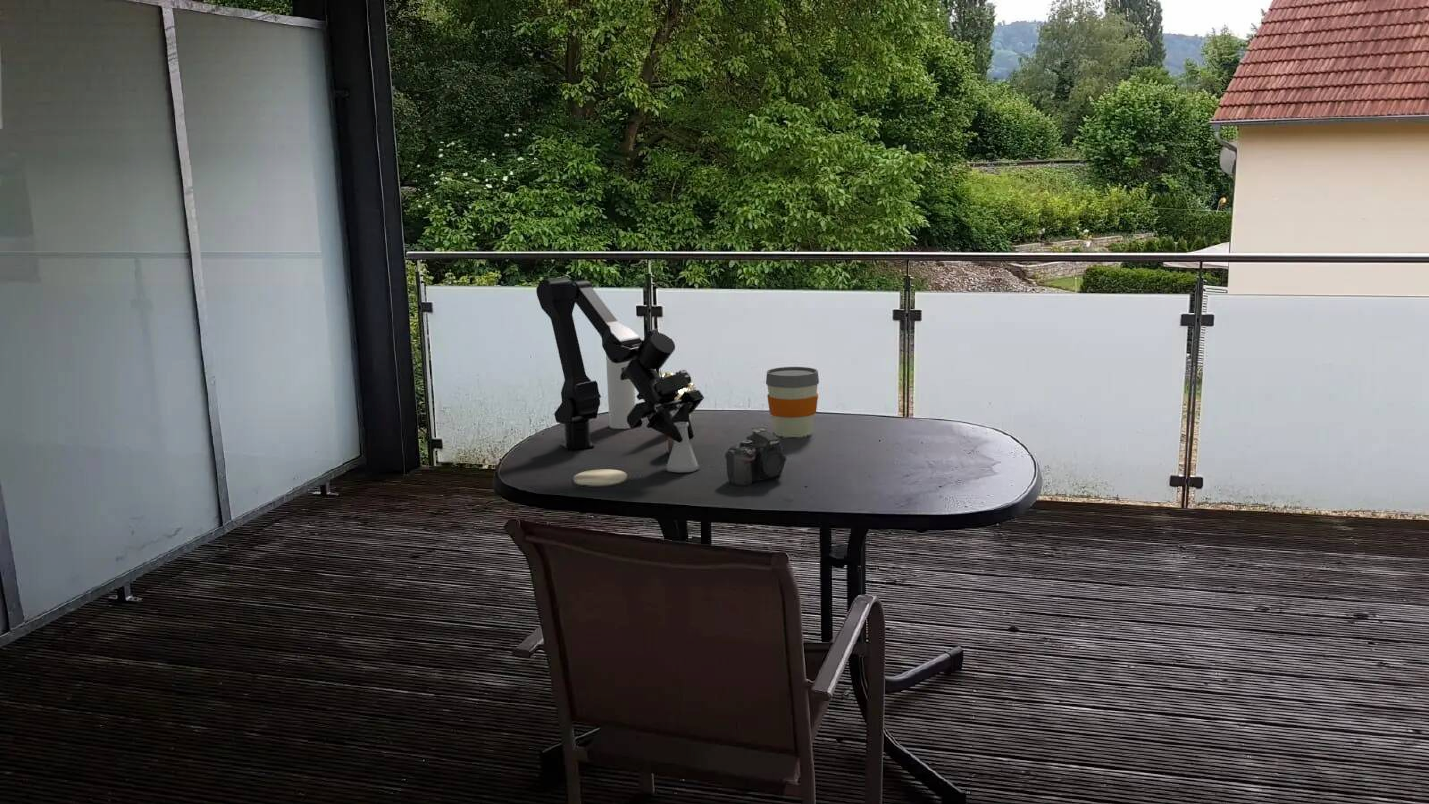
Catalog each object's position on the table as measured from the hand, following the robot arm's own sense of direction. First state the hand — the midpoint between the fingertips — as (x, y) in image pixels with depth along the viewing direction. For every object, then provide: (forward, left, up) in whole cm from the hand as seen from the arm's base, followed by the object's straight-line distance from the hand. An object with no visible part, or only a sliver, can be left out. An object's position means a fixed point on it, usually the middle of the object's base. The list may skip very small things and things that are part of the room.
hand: (686, 439), depth 241 cm
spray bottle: (-47, -2, -7) cm, 48 cm away
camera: (+12, +11, -7) cm, 18 cm away
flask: (-1, -1, -7) cm, 7 cm away
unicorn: (-36, +9, -7) cm, 38 cm away
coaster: (-1, -19, -7) cm, 20 cm away
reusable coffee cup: (-21, +33, -7) cm, 40 cm away
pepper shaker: (-16, +3, -7) cm, 18 cm away
